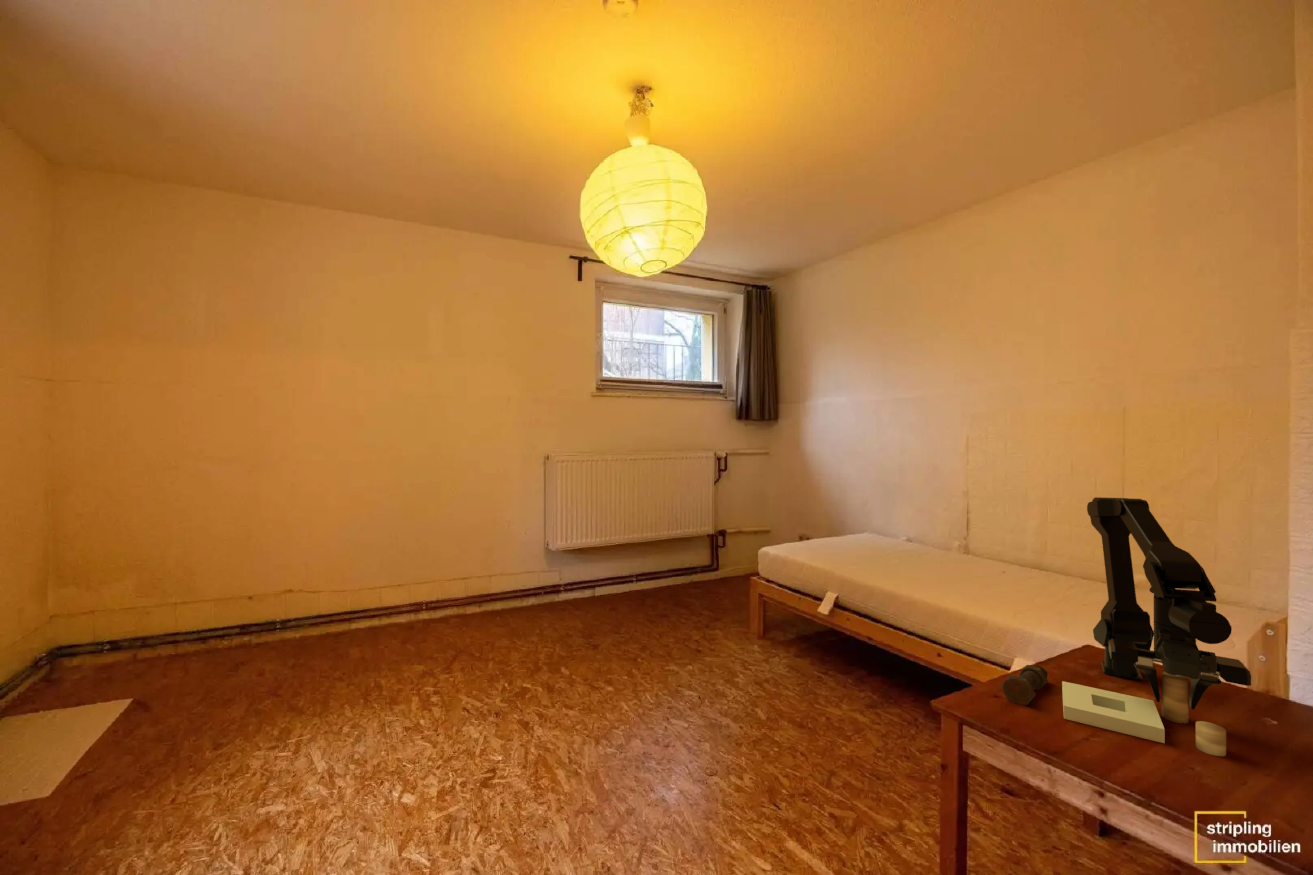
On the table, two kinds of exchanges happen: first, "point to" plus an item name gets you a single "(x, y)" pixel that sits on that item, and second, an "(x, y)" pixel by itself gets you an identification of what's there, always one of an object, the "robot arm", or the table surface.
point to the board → (1112, 711)
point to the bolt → (1024, 684)
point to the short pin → (1211, 738)
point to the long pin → (1175, 698)
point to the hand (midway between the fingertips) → (1174, 704)
